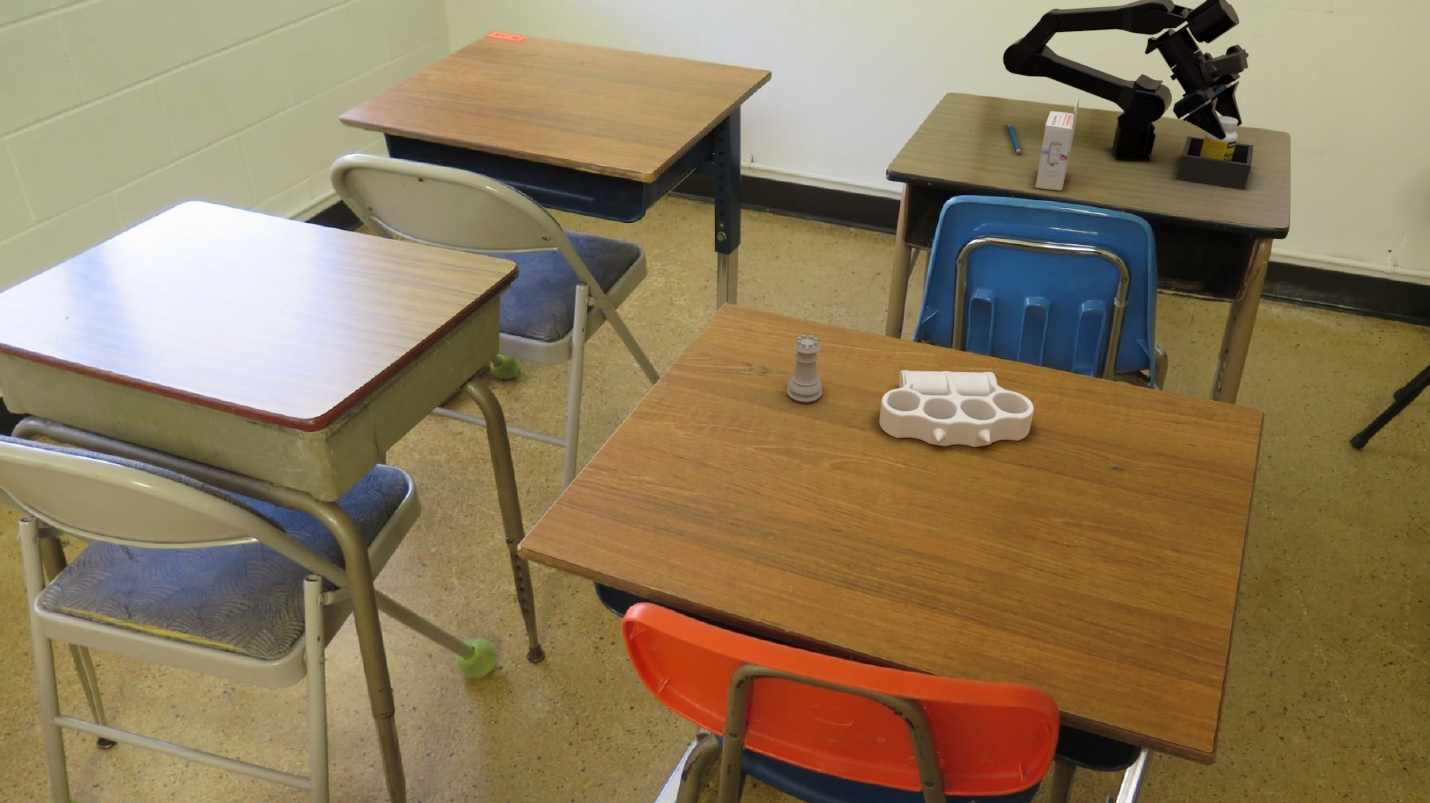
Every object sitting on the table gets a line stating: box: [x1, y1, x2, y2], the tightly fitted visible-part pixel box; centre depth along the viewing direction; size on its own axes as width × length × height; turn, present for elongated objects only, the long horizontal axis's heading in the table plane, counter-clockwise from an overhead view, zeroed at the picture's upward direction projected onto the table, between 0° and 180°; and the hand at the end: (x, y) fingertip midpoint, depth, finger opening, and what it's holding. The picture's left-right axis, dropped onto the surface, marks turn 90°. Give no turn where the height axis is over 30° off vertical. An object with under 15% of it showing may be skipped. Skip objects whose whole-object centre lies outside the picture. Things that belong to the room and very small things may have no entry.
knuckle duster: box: [878, 369, 1035, 448], centre depth 128 cm, size 3×18×15 cm
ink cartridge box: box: [1035, 97, 1080, 192], centre depth 189 cm, size 9×5×15 cm, turn 160°
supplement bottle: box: [1200, 115, 1239, 161], centre depth 194 cm, size 5×5×10 cm
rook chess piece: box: [786, 334, 823, 404], centre depth 131 cm, size 4×4×8 cm
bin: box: [1176, 135, 1254, 190], centre depth 195 cm, size 12×12×4 cm
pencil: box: [1007, 124, 1022, 156], centre depth 211 cm, size 1×17×1 cm, turn 174°
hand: (1231, 131), depth 191 cm, fingers open, 9 cm apart
